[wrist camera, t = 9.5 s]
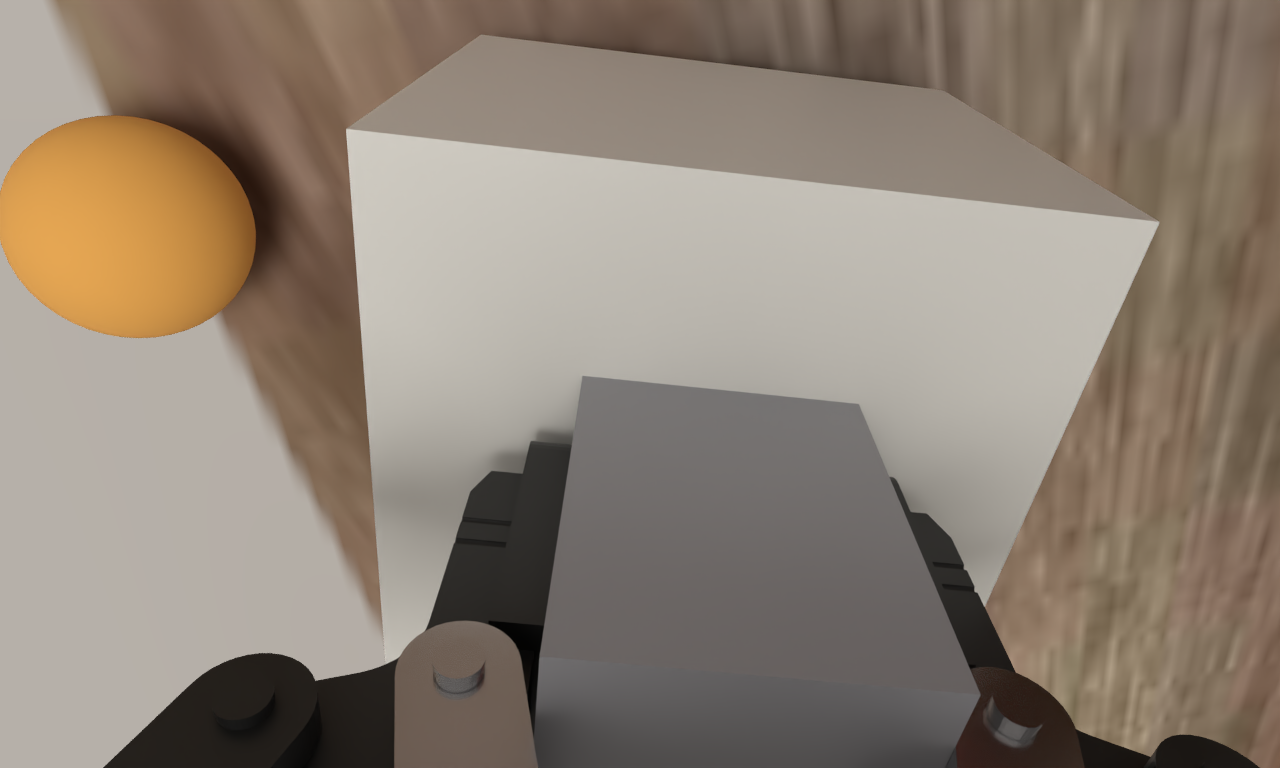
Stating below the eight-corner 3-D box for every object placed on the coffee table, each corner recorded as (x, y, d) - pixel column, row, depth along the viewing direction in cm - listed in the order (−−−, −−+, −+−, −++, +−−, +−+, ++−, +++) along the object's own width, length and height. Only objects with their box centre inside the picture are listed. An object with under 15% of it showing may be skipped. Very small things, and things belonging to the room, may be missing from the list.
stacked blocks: (942, 90, 18) (1534, 448, 6) (835, 462, 23) (1033, 1056, 11) (480, 34, 17) (100, 300, 5) (477, 426, 22) (278, 1006, 11)
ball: (-22, 87, 18) (228, 92, 20) (33, 291, 20) (249, 274, 23) (-47, 157, 14) (260, 154, 17) (24, 394, 17) (281, 361, 19)
